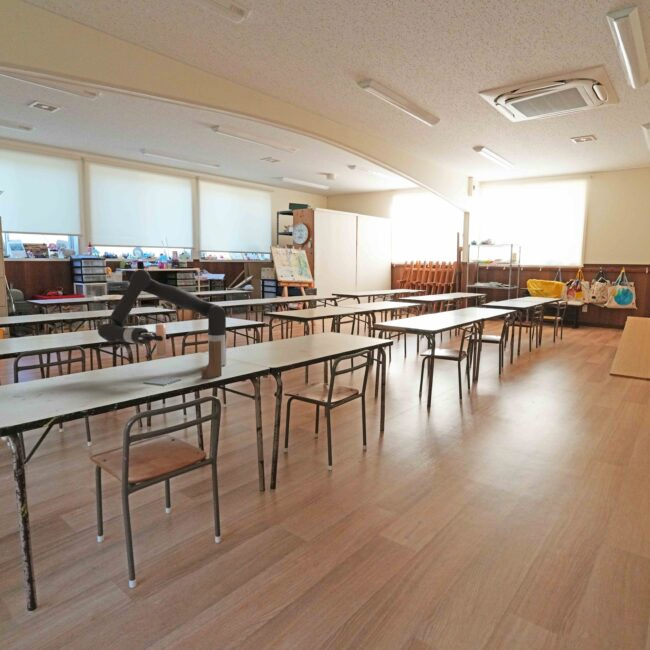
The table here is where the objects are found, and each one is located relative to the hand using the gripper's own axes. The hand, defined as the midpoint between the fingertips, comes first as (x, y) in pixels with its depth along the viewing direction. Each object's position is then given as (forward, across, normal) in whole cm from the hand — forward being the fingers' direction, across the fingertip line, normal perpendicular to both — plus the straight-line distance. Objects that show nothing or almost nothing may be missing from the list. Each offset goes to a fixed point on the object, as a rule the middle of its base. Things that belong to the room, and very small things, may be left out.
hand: (165, 337), depth 217 cm
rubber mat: (-3, 0, +21) cm, 21 cm away
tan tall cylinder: (-3, 0, +8) cm, 8 cm away
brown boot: (+13, +17, +21) cm, 30 cm away
